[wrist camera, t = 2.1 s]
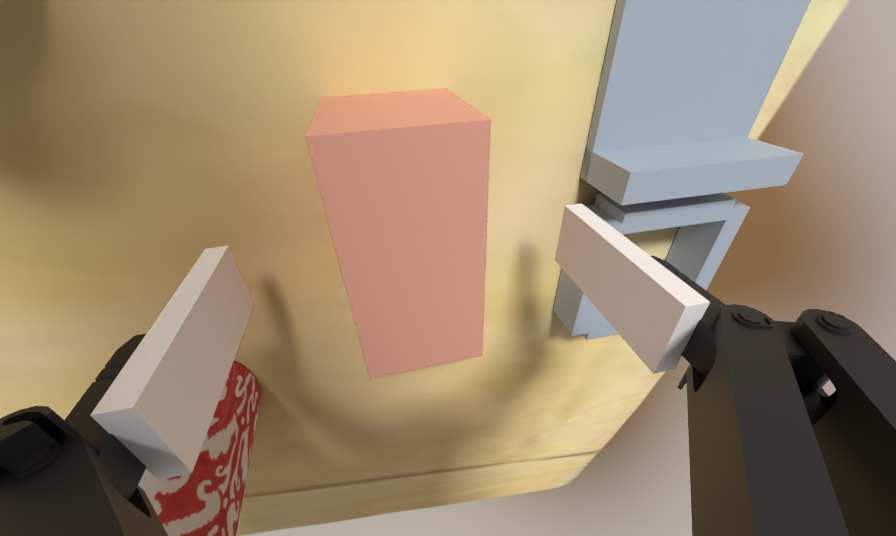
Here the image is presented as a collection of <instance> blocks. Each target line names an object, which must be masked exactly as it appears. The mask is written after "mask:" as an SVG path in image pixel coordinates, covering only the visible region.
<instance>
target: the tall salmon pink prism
mask: <svg viewBox="0 0 896 536" xmlns="http://www.w3.org/2000/svg"><path fill="white" fill-rule="evenodd" d="M490 123H491V119H489V118H488V117H486V116H485V115H484V114H482V113H481V112H479V111H478V110H476V109H475V108H474V107H472V106H471V105H469V104H468V103H466V102H465V101H464V100H462V99H461V98H459V97H458V96H456V95H455V94H454V93H452V92H451V91H449V90H448V89H446V88H442V89H429V90H416V91H402V92H389V93H376V94H362V95H349V96H336V97H322V98H321V100H320V103H319V105H318V107H317V110H316V112H315V115H314V117H313V119H312V122H311V124H310V127H309V129H308V131H307V134H306V136H305V137H306V141H307V144H308V148H309V152H310V156H311V160H312V163H313V167H314V171H315V175H316V178H317V182H318V186H319V190H320V193H321V197H322V201H323V205H324V208H325V212H326V216H327V220H328V224H329V227H330V231H331V235H332V239H333V242H334V246H335V250H336V254H337V257H338V261H339V265H340V269H341V273H342V276H343V280H344V284H345V288H346V291H347V295H348V299H349V303H350V306H351V310H352V314H353V318H354V321H355V325H356V329H357V333H358V337H359V340H360V344H361V348H362V352H363V355H364V359H365V363H366V367H367V370H368V374H369V378H370V379H372V378H377V377H382V376H387V375H392V374H397V373H402V372H407V371H412V370H416V369H421V368H426V367H431V366H436V365H441V364H446V363H451V362H456V361H461V360H466V359H471V358H476V357H480V356H482V354H483V326H484V297H485V268H486V239H487V210H488V181H489V152H490Z"/></svg>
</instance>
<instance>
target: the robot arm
mask: <svg viewBox="0 0 896 536" xmlns="http://www.w3.org/2000/svg"><path fill="white" fill-rule="evenodd" d="M555 261H556V262H557V263H558V264H559V265H560V266H561V268H562V269H563V270H564V271H565V272H566V273H567V275H568V276H569V277H570V278H571V279H572V280H573V281H574V283H575V284H576V285H577V286H578V287H579V288H580V290H581V291H582V292H583V293H584V294H585V295H586V296H587V298H588V299H589V300H590V301H591V302H592V303H593V305H594V306H595V307H596V308H597V309H598V310H599V311H600V313H601V314H602V315H603V316H604V317H605V318H606V320H607V321H608V322H609V323H610V324H611V325H612V326H613V328H614V329H615V330H616V331H617V332H618V333H619V335H620V336H621V337H622V338H623V339H624V340H625V341H626V343H627V344H628V345H629V346H630V347H631V348H632V350H633V351H634V352H635V353H636V354H637V355H638V356H639V358H640V359H641V360H642V361H643V362H644V363H645V365H646V366H647V367H648V368H649V369H650V370H651V371H652V373H653V374H654V373H658V372H663V371H668V370H672V369H675V368H676V366H677V364H678V362H679V360H680V358H681V356H683V357H684V358H685V359H686V360H687V361H688V362H689V363H690V365H689V367H688V368H687V370H686V372H685V374H684V375H683V377H682V379H681V381H680V383H679V385H678V388H679V389H682V388H683V386H684V385H685V384H686V383H687V400H688V428H689V454H690V481H691V508H692V534H693V536H896V361H895V360H894V359H893V358H892V357H891V356H890V355H889V354H888V353H887V352H885V350H883V348H882V347H881V346H880V345H879V344H878V343H876V342H875V341H874V340H873V339H872V338H871V337H870V336H869V335H868V334H867V333H866V332H865V331H864V330H863V329H862V328H861V327H860V326H858V325H857V324H856V323H854V322H853V321H851V320H849V319H847V318H845V317H844V316H842V315H839V314H836V313H833V312H829V311H823V310H819V309H808V310H806V311H803V312H802V313H801V315H800V316H799V318H798V319H797V320H796V322H780V321H773V320H772V319H771V318H770V317H768V316H767V315H766V314H764V313H762V312H760V311H758V310H756V309H753V308H750V307H747V306H742V305H735V304H733V305H725V304H724V303H722V302H721V301H720V300H718V299H717V298H715V297H714V296H713V295H712V294H710V293H709V292H707V291H706V290H705V289H703V288H702V287H701V286H699V285H698V284H697V283H695V282H694V281H693V280H690V278H689V277H687V276H686V275H685V274H683V273H680V271H679V270H678V269H676V268H675V267H674V266H672V265H671V264H670V263H668V262H666V261H664V260H662V259H660V258H657V257H655V256H649V255H648V254H647V253H646V252H644V251H643V250H642V249H640V248H639V247H638V246H636V245H635V244H634V243H633V242H631V241H630V240H629V239H627V238H626V237H625V236H623V235H622V234H621V233H619V232H618V231H617V230H616V229H614V228H613V227H612V226H610V225H609V224H608V223H606V222H605V221H604V220H603V219H601V218H600V217H599V216H597V215H596V214H595V213H593V212H592V211H591V210H589V209H588V208H587V207H586V206H584V205H583V204H574V205H565V209H564V214H563V220H562V225H561V230H560V236H559V241H558V247H557V252H556V258H555ZM254 305H255V304H254V302H253V300H252V297H251V295H250V293H249V291H248V288H247V286H246V284H245V282H244V279H243V277H242V275H241V273H240V270H239V268H238V266H237V264H236V261H235V259H234V257H233V255H232V252H231V250H230V248H229V246H223V247H214V248H206V249H205V250H204V251H203V253H202V254H201V256H200V257H199V258H198V260H197V261H196V263H195V264H194V266H193V267H192V269H191V270H190V271H189V273H188V274H187V276H186V277H185V279H184V280H183V282H182V283H181V285H180V286H179V287H178V289H177V290H176V292H175V293H174V295H173V296H172V298H171V299H170V300H169V302H168V303H167V305H166V306H165V308H164V309H163V311H162V312H161V313H160V315H159V316H158V318H157V319H156V321H155V322H154V324H153V325H152V327H151V328H150V329H149V331H148V332H147V334H142V335H136V336H134V337H133V338H131V339H130V340H129V341H128V342H127V343H125V344H124V345H123V346H122V347H120V348H119V349H118V350H117V351H116V352H115V353H114V355H113V356H112V357H111V359H110V360H109V361H108V363H107V364H106V365H105V367H106V368H105V369H102V371H101V372H100V374H99V375H98V376H97V378H96V379H95V380H96V382H93V383H92V384H91V386H90V387H89V388H88V390H87V391H86V392H85V394H84V395H83V396H82V398H81V399H80V400H79V402H78V403H77V404H76V406H75V407H74V408H73V410H72V411H71V412H70V414H69V415H68V416H67V418H66V419H65V420H63V419H62V418H61V417H60V416H58V415H57V414H56V413H55V412H54V411H53V410H51V409H50V408H49V407H46V406H34V407H30V408H26V409H22V410H19V411H16V412H14V413H12V414H10V415H7V416H5V417H3V418H1V419H0V536H168V534H167V532H166V531H165V529H164V527H163V525H162V523H161V521H160V519H159V517H158V515H157V514H156V512H155V510H154V508H153V506H152V504H151V502H150V500H149V498H148V497H147V495H146V493H145V491H144V490H143V489H142V488H140V487H139V486H138V484H139V482H140V480H141V478H142V476H143V474H144V471H145V469H147V470H148V471H149V472H150V473H151V474H152V475H153V476H154V477H155V478H156V479H157V480H162V479H166V478H171V477H176V476H180V475H185V474H189V473H192V472H193V469H194V467H195V464H196V461H197V459H198V456H199V453H200V451H201V448H202V445H203V442H204V440H205V437H206V434H207V432H208V429H209V426H210V424H211V421H212V418H213V415H214V413H215V410H216V407H217V405H218V402H219V399H220V396H221V394H222V391H223V388H224V386H225V383H226V380H227V378H228V375H229V372H230V369H231V367H232V364H233V361H234V359H235V356H236V353H237V351H238V348H239V345H240V342H241V340H242V337H243V334H244V332H245V329H246V326H247V324H248V321H249V318H250V315H251V313H252V310H253V307H254ZM829 379H830V380H831V382H832V383H833V384H834V386H835V388H836V391H835V392H834V393H833V394H832V395H830V396H828V395H827V394H826V393H825V391H824V390H823V389H822V387H823V386H824V385H825V384H826V382H827V381H828V380H829Z"/></svg>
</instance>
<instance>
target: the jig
mask: <svg viewBox="0 0 896 536" xmlns="http://www.w3.org/2000/svg"><path fill="white" fill-rule="evenodd" d="M810 1H811V0H617V3H616V8H615V12H614V17H613V22H612V27H611V32H610V36H609V41H608V46H607V51H606V55H605V60H604V65H603V70H602V75H601V79H600V84H599V89H598V94H597V99H596V103H595V108H594V113H593V118H592V123H591V127H590V132H589V137H588V142H587V147H586V151H585V156H584V161H583V166H582V170H581V175H580V178H582V179H583V180H585V181H586V182H587V183H589V184H590V185H592V186H593V187H595V188H596V189H598V190H599V191H601V192H602V193H599V194H597V196H596V200H595V204H589V205H584V206H586V207H587V208H588V209H589V210H591V211H592V212H593V213H595V214H596V215H597V216H599V217H600V218H601V219H603V220H604V221H605V222H606V223H608V224H609V225H610V226H612V227H613V228H614V229H616V230H617V231H618V232H619V233H621V234H622V235H623V234H630V233H637V232H644V231H651V230H658V229H665V228H672V227H679V226H680V228H679V230H678V232H677V235H676V237H675V239H674V242H673V244H672V247H671V249H670V251H669V254H668V256H667V259H666V262H668V263H670V264H671V265H672V266H674V267H675V268H676V269H678V270H679V271H680V273H683V274H685V275H686V276H687V277H689V278H690V280H693V281H694V282H695V283H697V284H698V285H699V286H701V287H702V288H703V289H705V290H706V289H707V287H708V285H709V284H710V282H711V280H712V278H713V276H714V274H715V272H716V271H717V269H718V267H719V265H720V263H721V261H722V259H723V257H724V256H725V254H726V252H727V250H728V248H729V246H730V244H731V242H732V240H733V239H734V237H735V235H736V233H737V231H738V229H739V227H740V225H741V223H742V222H743V220H744V218H745V216H746V214H747V212H748V210H749V208H750V207H748V206H746V205H744V204H742V203H740V202H738V201H736V199H735V198H733V197H731V196H728V195H726V194H724V193H725V192H732V191H741V190H748V189H756V188H764V187H772V186H780V185H786V184H787V183H788V181H789V179H790V177H791V175H792V174H793V172H794V170H795V169H796V167H797V165H798V163H799V161H800V160H801V158H802V156H803V155H804V154H803V153H799V152H796V151H793V150H789V149H786V148H782V147H779V146H775V145H772V144H768V143H765V142H762V141H758V140H755V139H751V138H748V137H747V136H748V134H749V132H750V130H751V128H752V126H753V124H754V121H755V119H756V117H757V115H758V113H759V111H760V109H761V106H762V104H763V102H764V100H765V98H766V96H767V94H768V91H769V89H770V87H771V85H772V83H773V81H774V79H775V76H776V74H777V72H778V70H779V68H780V66H781V63H782V61H783V59H784V57H785V55H786V53H787V51H788V48H789V46H790V44H791V42H792V40H793V38H794V36H795V33H796V31H797V29H798V27H799V25H800V23H801V21H802V18H803V16H804V14H805V12H806V10H807V8H808V6H809V3H810ZM553 311H554V312H555V314H556V315H557V316H558V318H559V319H560V321H561V322H562V324H563V325H564V326H565V328H566V329H567V331H568V332H569V334H570V335H571V336H576V335H582V334H583V335H584V336H585V338H586V339H587V340H588V339H593V338H598V337H604V336H609V335H614V334H619V333H618V332H617V331H616V330H615V329H614V328H613V326H612V325H611V324H610V323H609V322H608V321H607V320H606V318H605V317H604V316H603V315H602V314H601V313H600V311H599V310H598V309H597V308H596V307H595V306H594V305H593V303H592V302H591V301H590V300H589V299H588V298H587V296H586V295H585V294H584V293H583V292H582V291H581V290H580V288H579V287H578V286H577V285H576V284H575V283H574V281H573V280H572V279H571V278H570V277H569V276H568V275H567V273H566V272H565V271H564V270H563V269H562V270H561V274H560V279H559V284H558V289H557V293H556V298H555V303H554V308H553Z"/></svg>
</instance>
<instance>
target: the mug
mask: <svg viewBox="0 0 896 536" xmlns="http://www.w3.org/2000/svg"><path fill="white" fill-rule="evenodd" d="M260 400H261V389H260V386H259V383H258V381H257V379H256V378H255V376H254V375H253V374H252V373H251V372H250V371H249V370H248V369H246V368H245V367H243V366H242V365H240V364H238V363H237V362H235V361H233V364H232V367H231V369H230V372H229V375H228V378H227V380H226V383H225V386H224V388H223V391H222V394H221V396H220V399H219V402H218V405H217V407H216V410H215V413H214V415H213V418H212V421H211V424H210V426H209V429H208V432H207V434H206V437H205V440H204V442H203V445H202V448H201V451H200V453H199V456H198V459H197V461H196V464H195V467H194V469H193V472H192V473H189V474H185V475H180V476H176V477H171V478H166V479H162V480H157V479H156V478H155V477H154V476H153V475H152V474H151V473H150V472H149V471H148V470H147V469H145V471H144V474H143V476H142V478H141V480H140V482H139V484H138V486H139V487H140V488H142V489H143V490H144V491H145V493H146V495H147V497H148V498H149V500H150V502H151V504H152V506H153V508H154V510H155V512H156V514H157V515H158V517H159V519H160V521H161V523H162V525H163V527H164V529H165V531H166V532H167V534H168V536H236V532H237V527H238V520H239V515H240V509H241V504H242V499H243V494H244V489H245V485H246V478H247V472H248V466H249V461H250V455H251V450H252V445H253V438H254V432H255V428H256V424H257V417H258V412H259V407H260Z"/></svg>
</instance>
